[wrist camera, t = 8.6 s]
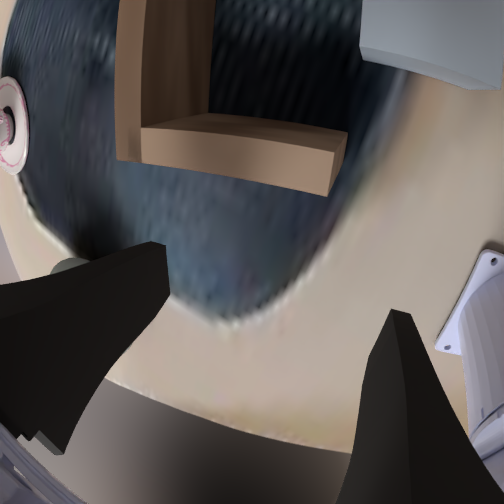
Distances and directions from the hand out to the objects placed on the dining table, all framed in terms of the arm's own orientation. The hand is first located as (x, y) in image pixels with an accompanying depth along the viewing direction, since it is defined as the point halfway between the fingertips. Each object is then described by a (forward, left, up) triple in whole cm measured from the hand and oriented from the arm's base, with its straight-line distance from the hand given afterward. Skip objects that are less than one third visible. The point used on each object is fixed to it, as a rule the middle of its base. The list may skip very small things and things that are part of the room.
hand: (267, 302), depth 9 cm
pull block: (-7, -11, -9) cm, 16 cm away
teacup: (+34, -3, -10) cm, 36 cm away
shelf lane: (+4, -11, -9) cm, 15 cm away
